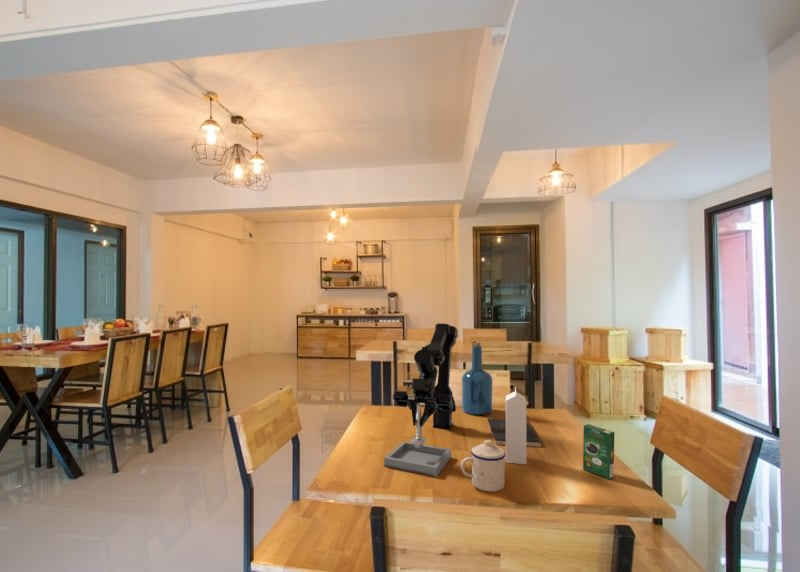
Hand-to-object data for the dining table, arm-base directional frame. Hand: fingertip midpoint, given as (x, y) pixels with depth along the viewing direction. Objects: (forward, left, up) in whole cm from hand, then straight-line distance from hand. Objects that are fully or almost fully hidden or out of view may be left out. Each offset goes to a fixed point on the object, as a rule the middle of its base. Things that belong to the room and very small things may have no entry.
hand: (417, 425), depth 119 cm
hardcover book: (-23, -38, -12) cm, 46 cm away
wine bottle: (-5, -59, -12) cm, 61 cm away
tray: (0, -1, -11) cm, 11 cm away
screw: (0, -1, -7) cm, 7 cm away
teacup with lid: (-21, +5, -12) cm, 24 cm away
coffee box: (-50, -15, -12) cm, 53 cm away
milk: (-27, -15, -11) cm, 33 cm away
